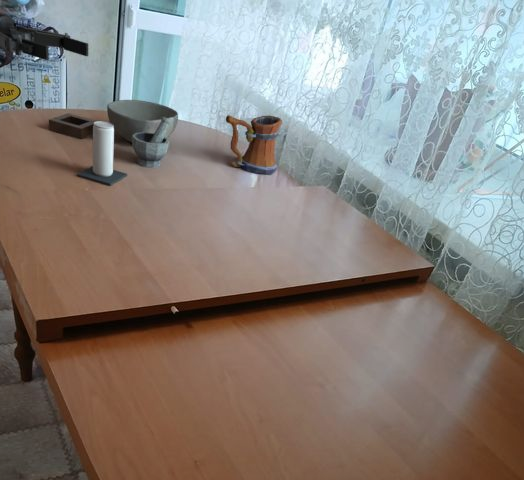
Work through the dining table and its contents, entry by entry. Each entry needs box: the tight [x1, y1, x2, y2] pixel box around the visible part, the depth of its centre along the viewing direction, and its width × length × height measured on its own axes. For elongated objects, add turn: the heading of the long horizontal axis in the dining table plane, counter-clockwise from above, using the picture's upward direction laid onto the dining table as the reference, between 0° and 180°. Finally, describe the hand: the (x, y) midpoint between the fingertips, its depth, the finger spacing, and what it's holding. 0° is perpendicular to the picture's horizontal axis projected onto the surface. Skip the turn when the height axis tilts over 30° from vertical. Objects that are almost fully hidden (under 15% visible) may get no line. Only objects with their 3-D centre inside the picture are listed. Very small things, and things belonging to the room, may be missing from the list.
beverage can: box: [92, 120, 115, 177], centre depth 133 cm, size 5×5×12 cm
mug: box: [225, 114, 283, 175], centre depth 159 cm, size 18×12×15 cm, turn 113°
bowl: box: [106, 99, 179, 143], centre depth 161 cm, size 20×20×10 cm
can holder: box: [48, 112, 98, 140], centre depth 159 cm, size 10×10×3 cm
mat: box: [76, 165, 128, 187], centre depth 137 cm, size 9×9×1 cm
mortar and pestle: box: [131, 117, 171, 169], centre depth 147 cm, size 11×9×12 cm
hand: (68, 51), depth 124 cm, fingers open, 13 cm apart
